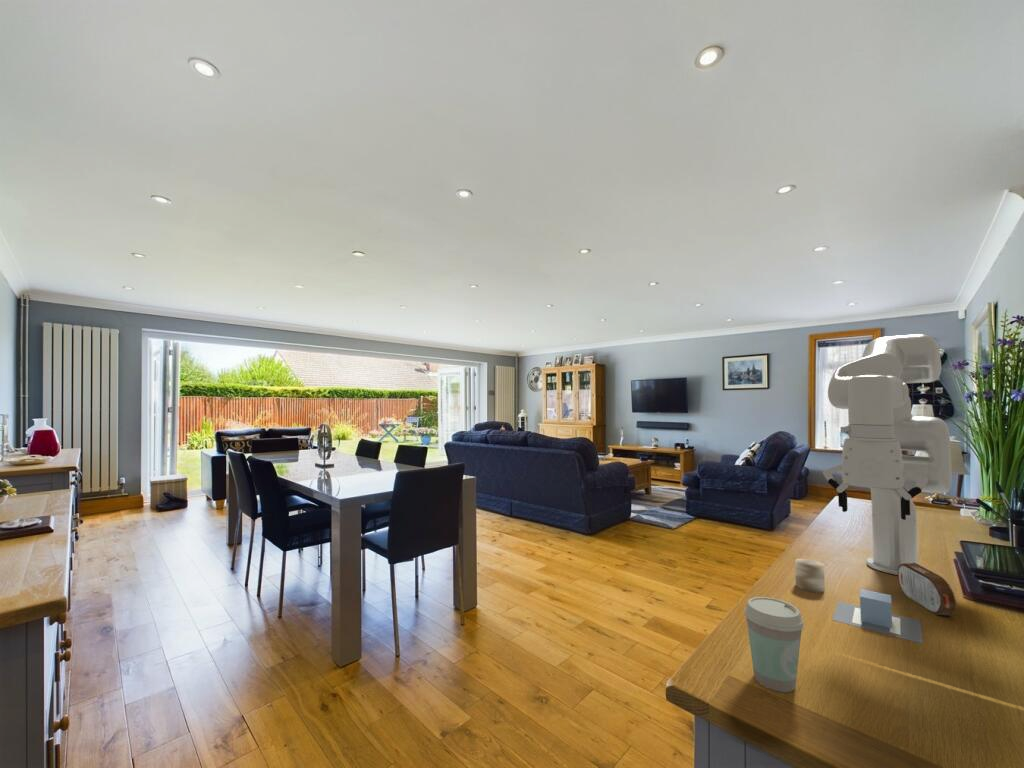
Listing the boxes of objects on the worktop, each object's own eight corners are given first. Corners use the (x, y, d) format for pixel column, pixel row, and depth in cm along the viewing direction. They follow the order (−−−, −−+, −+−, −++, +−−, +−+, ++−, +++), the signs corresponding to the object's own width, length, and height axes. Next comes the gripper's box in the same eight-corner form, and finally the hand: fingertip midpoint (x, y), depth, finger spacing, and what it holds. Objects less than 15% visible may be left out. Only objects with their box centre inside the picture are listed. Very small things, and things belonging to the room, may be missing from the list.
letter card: (837, 602, 102) (837, 601, 102) (920, 622, 93) (920, 620, 93) (832, 621, 93) (832, 619, 93) (923, 645, 84) (923, 643, 84)
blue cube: (861, 612, 97) (860, 588, 97) (891, 619, 94) (890, 595, 94) (860, 620, 93) (860, 596, 93) (892, 628, 90) (891, 603, 90)
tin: (958, 623, 93) (957, 582, 94) (940, 621, 94) (939, 581, 94) (910, 593, 108) (908, 558, 108) (895, 592, 109) (894, 557, 109)
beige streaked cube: (793, 589, 110) (793, 563, 110) (797, 582, 114) (797, 556, 115) (823, 596, 106) (822, 569, 106) (826, 588, 110) (825, 562, 111)
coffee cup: (784, 704, 67) (783, 623, 68) (733, 674, 75) (732, 601, 76) (817, 688, 71) (815, 611, 72) (765, 661, 79) (764, 591, 79)
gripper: (819, 432, 98) (821, 511, 97) (927, 436, 87) (930, 525, 86) (823, 430, 104) (825, 505, 103) (925, 434, 92) (928, 518, 92)
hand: (873, 514), depth 94 cm, fingers open, 9 cm apart
